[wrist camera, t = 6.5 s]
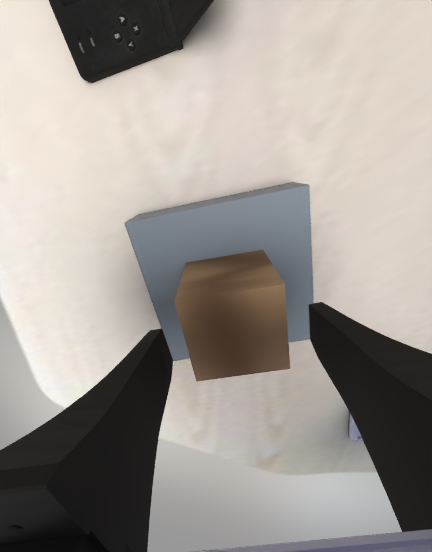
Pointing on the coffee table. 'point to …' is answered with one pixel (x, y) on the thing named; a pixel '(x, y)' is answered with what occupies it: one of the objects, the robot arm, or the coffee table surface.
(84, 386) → the coffee table surface
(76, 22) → the handheld gaming console
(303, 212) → the slate block
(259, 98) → the coffee table surface
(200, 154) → the coffee table surface
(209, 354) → the walnut cube
